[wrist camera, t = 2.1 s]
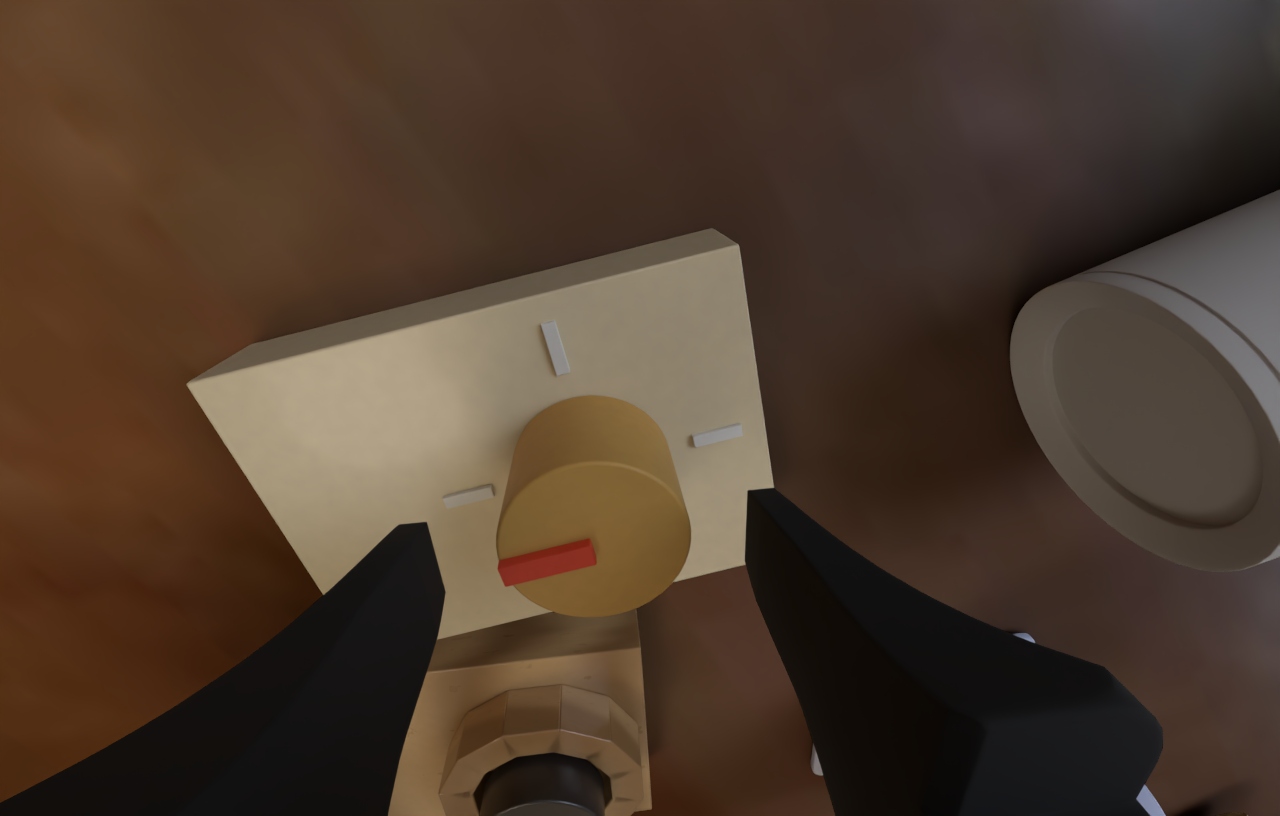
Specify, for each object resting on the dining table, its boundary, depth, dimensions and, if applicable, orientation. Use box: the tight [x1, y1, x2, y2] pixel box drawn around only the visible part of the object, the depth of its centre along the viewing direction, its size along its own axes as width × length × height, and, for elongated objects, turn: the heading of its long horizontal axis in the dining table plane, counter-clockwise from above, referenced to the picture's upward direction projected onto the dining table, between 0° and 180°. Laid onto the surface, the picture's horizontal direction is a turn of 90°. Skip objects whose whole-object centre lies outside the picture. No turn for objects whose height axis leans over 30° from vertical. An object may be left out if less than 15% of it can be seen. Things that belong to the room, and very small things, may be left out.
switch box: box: [388, 608, 652, 816], centre depth 22 cm, size 12×10×4 cm
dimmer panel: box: [187, 228, 774, 640], centre depth 17 cm, size 14×10×3 cm
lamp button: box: [480, 752, 605, 816], centre depth 20 cm, size 4×4×2 cm
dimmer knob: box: [496, 395, 691, 617], centre depth 14 cm, size 4×4×4 cm
